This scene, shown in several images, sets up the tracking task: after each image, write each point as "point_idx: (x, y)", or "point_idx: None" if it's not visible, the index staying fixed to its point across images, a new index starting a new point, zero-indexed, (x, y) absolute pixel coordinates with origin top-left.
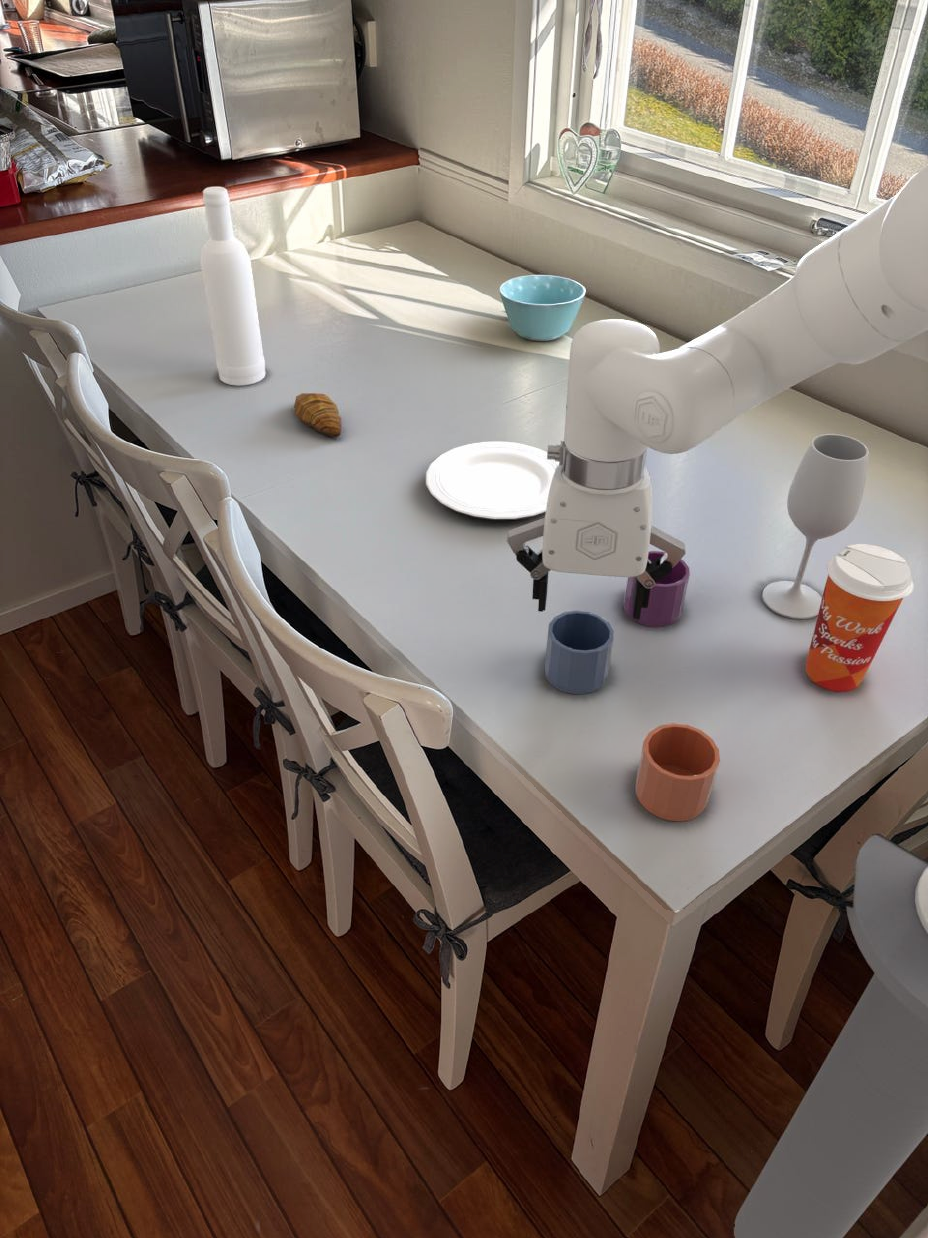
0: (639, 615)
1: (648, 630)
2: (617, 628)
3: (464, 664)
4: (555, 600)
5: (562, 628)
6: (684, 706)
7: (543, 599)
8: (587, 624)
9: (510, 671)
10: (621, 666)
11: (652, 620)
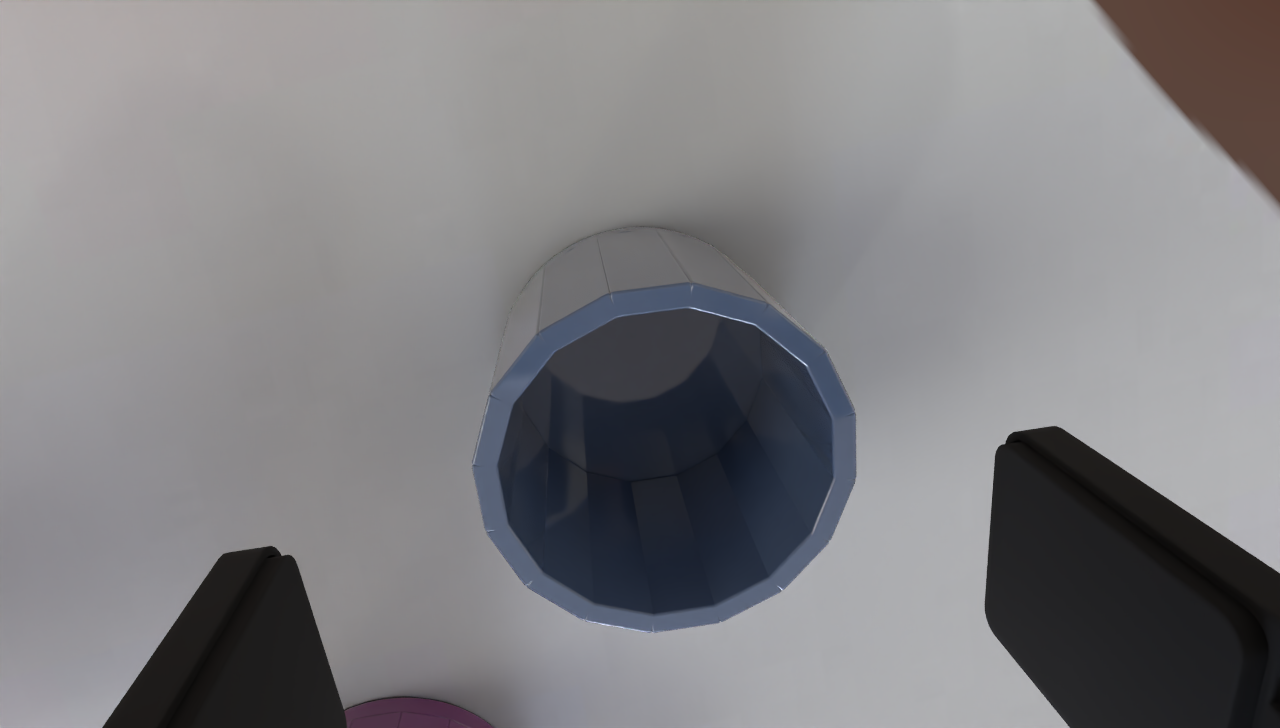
0: (215, 576)
1: (393, 676)
2: (516, 651)
3: (1104, 279)
4: (777, 720)
5: (758, 516)
6: (121, 288)
7: (1102, 489)
8: (639, 570)
9: (911, 292)
10: (455, 452)
11: (379, 723)
